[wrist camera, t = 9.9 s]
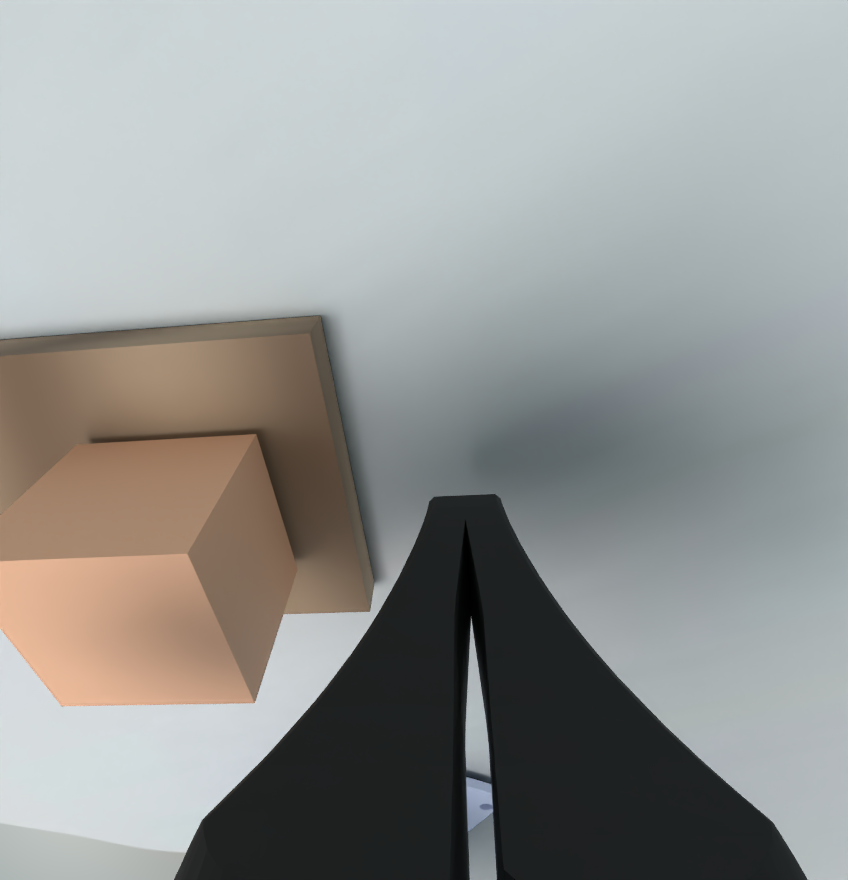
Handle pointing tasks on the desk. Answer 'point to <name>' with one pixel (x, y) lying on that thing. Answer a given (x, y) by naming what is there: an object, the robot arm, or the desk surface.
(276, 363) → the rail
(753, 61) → the desk surface
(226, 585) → the peach colored cube
